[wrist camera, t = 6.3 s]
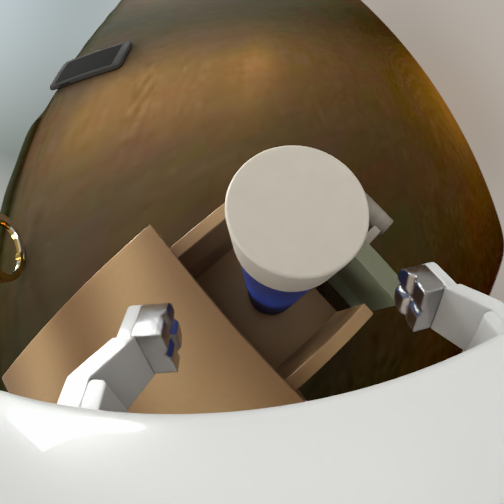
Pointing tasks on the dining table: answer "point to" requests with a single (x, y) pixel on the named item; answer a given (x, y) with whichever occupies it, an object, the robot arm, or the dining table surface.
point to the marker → (293, 223)
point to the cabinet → (191, 352)
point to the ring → (20, 255)
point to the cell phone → (91, 64)
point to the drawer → (302, 311)
